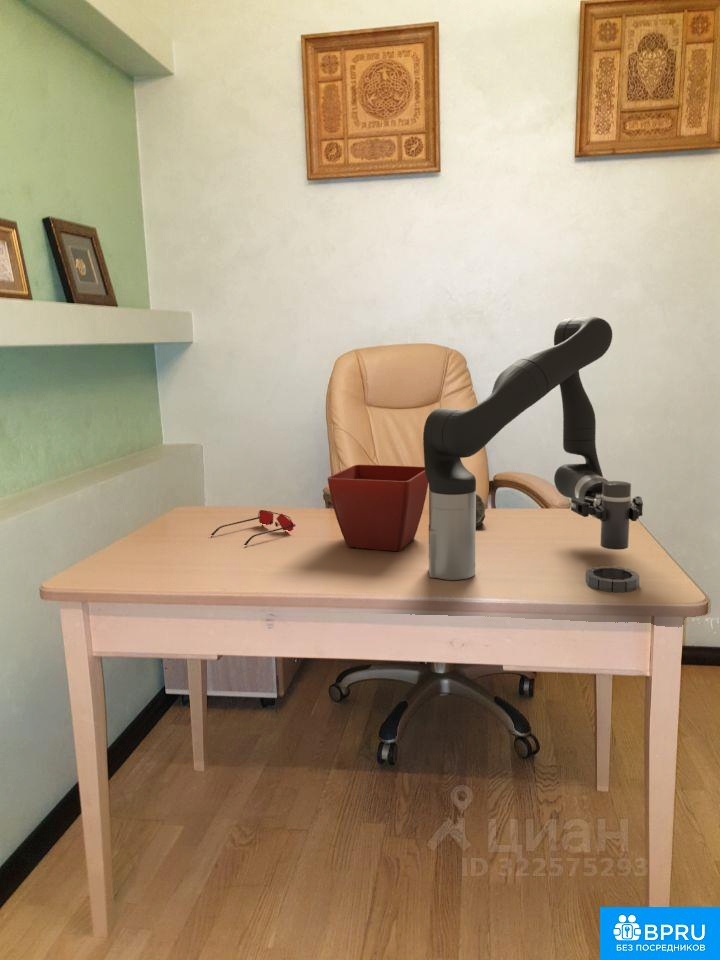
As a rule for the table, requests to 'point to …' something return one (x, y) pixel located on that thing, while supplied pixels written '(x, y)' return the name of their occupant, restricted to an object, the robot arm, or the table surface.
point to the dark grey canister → (615, 514)
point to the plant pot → (378, 504)
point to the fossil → (479, 510)
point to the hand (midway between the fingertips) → (619, 515)
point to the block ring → (598, 581)
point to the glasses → (267, 522)
